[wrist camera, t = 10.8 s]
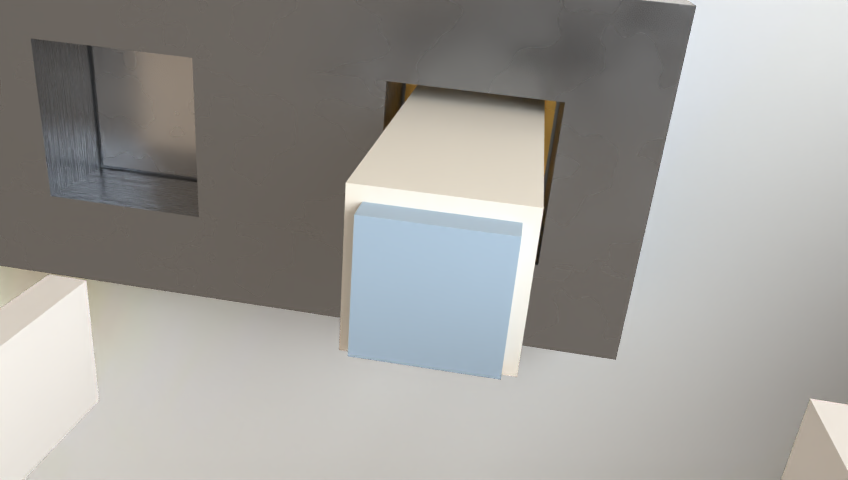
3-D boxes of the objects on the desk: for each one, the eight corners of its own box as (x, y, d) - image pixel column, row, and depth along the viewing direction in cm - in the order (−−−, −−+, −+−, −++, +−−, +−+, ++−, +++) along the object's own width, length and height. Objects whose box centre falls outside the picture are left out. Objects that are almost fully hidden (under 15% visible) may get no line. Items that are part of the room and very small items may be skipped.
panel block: (672, -10, 25) (696, 5, 21) (606, 299, 30) (615, 359, 26) (14, -78, 28) (-77, -76, 24) (52, 219, 33) (-18, 262, 29)
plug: (544, 93, 26) (543, 222, 16) (527, 209, 28) (515, 396, 17) (421, 79, 27) (336, 194, 16) (412, 194, 29) (330, 367, 18)
